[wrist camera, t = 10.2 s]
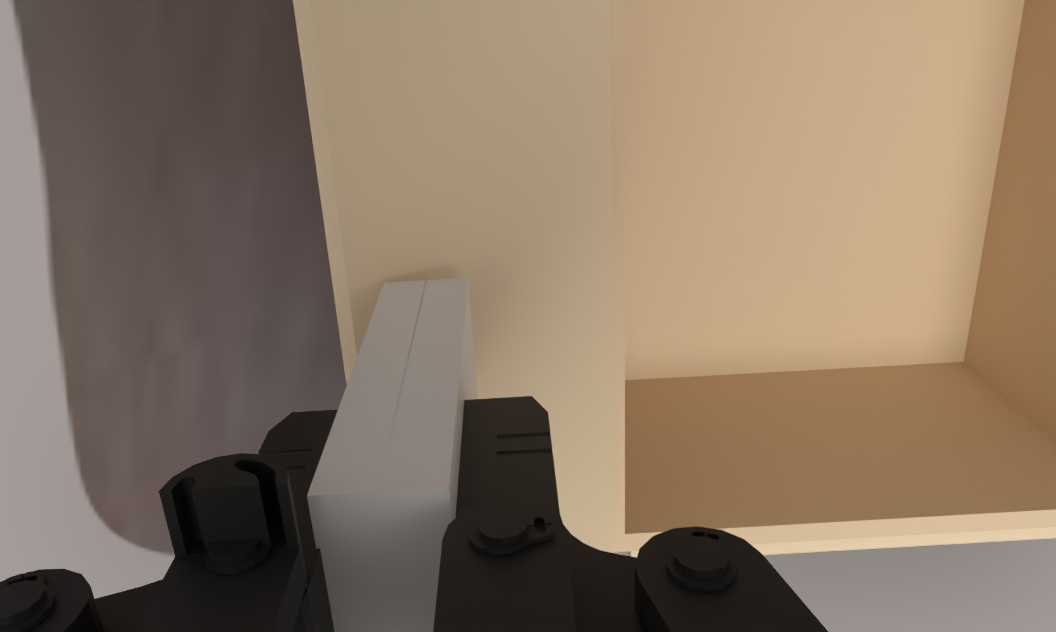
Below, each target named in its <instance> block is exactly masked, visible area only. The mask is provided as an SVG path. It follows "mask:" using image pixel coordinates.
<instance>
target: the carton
mask: <svg viewBox="0 0 1056 632" xmlns="http://www.w3.org/2000/svg"><path fill="white" fill-rule="evenodd" d="M611 83H612V267H613V451H614V545H613V546H612V547H610V548H609V549H607V550H606V552H610V553H611V552H629V556H631V557H637V555H638V552H639V549H640V548H641V547H642V546H643V545H644V544H645V543H646V542H647V541H648V540H649V539H651V538H652V537H653V536H655V535H657V534H660V533H662V532H665V531H668V530H670V529H673V528H683V527H694V526H699V527H706V528H712V529H719V530H723V531H726V532H728V533H730V534H733V535H735V536H738V537H740V538H743V539H745V540H746V541H747V542H748V543H749V544H751V545H752V546H753V547H754V548H756V549H757V550H758V551H759V552H761V553H762V555H771V554H788V553H804V552H822V551H840V550H857V549H874V548H890V547H891V548H892V547H908V546H926V545H944V544H961V543H977V542H994V541H1013V540H1029V539H1047V538H1056V0H611Z"/></svg>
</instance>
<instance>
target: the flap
mask: <svg viewBox="0 0 1056 632" xmlns="http://www.w3.org/2000/svg"><path fill="white" fill-rule="evenodd" d="M293 5H294V12H295V19H296V27H297V34H298V41H299V48H300V55H301V62H302V70H303V77H304V84H305V91H306V98H307V105H308V113H309V120H310V127H311V134H312V141H313V148H314V155H315V163H316V170H317V177H318V184H319V191H320V198H321V206H322V213H323V220H324V227H325V234H326V241H327V249H328V256H329V263H330V270H331V277H332V284H333V292H334V299H335V306H336V313H337V320H338V327H339V335H340V342H341V349H342V356H343V363H344V370H345V377H346V385H347V384H348V381H349V378H350V375H351V372H352V370H353V367H354V364H355V361H356V359H357V356H358V353H359V350H360V348H361V345H362V342H363V339H364V336H365V334H366V331H367V328H368V325H369V323H370V320H371V317H372V314H373V312H374V309H375V306H376V303H377V300H378V298H379V295H380V292H381V289H382V287H383V284H384V282H400V281H418V280H436V279H453V278H468V280H469V292H470V305H471V317H472V330H473V343H474V355H475V368H476V381H477V393H478V399H488V398H505V397H522V396H532V397H533V398H534V399H535V400H536V401H537V402H538V403H539V404H540V405H541V406H542V407H543V408H544V409H545V410H546V411H547V412H548V416H549V425H550V435H551V442H552V453H553V459H554V468H555V476H556V485H557V493H558V502H559V511H560V516H561V519H562V522H563V524H564V526H565V527H566V528H567V529H568V531H569V532H570V533H571V534H572V535H573V536H574V537H576V538H577V539H578V540H580V541H581V542H583V543H584V544H587V545H589V546H591V547H593V548H596V549H598V550H602V551H606V550H607V549H609V548H610V547H612V546H613V545H614V451H613V267H612V83H611V0H293Z"/></svg>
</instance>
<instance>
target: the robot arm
mask: <svg viewBox="0 0 1056 632" xmlns="http://www.w3.org/2000/svg"><path fill="white" fill-rule="evenodd" d="M159 493H160V497H161V501H162V505H163V509H164V513H165V517H166V521H167V525H168V529H169V533H170V537H171V541H172V545H173V549H174V553H175V558H174V560H173V562H172V564H171V566H170V567H169V569H168V571H167V573H166V575H165V577H164V578H163V579H162V580H159V581H156V582H154V583H151V584H148V585H145V586H142V587H138V588H134V589H130V590H127V591H123V592H119V593H116V594H112V595H108V596H104V597H101V598H97V599H94V597H93V593H92V590H91V587H90V585H89V583H88V582H87V581H86V580H85V578H84V577H83V576H82V574H79V573H76V572H72V571H69V570H66V569H46V570H37V571H33V572H27V573H25V574H19V575H16V576H13V577H10V578H8V579H6V580H4V581H2V582H0V632H828V631H827V630H826V629H825V627H824V626H823V625H822V624H821V623H820V622H819V620H818V619H817V618H816V617H815V616H814V615H813V613H812V612H811V611H810V610H809V609H808V608H807V606H806V605H805V604H804V603H803V602H802V600H801V599H800V598H799V597H798V596H797V595H796V593H795V592H794V591H793V590H792V589H791V588H790V586H789V585H788V584H787V583H786V582H785V580H784V579H783V578H782V577H781V576H780V575H779V573H778V572H777V571H776V570H775V569H774V568H773V567H772V565H771V564H770V563H769V562H768V560H767V559H766V558H765V557H764V556H763V555H762V553H761V552H759V551H758V550H757V549H756V548H754V547H753V546H752V545H751V544H749V543H748V542H747V541H746V540H745V539H743V538H740V537H738V536H735V535H733V534H730V533H728V532H726V531H723V530H719V529H712V528H706V527H699V526H694V527H683V528H673V529H670V530H668V531H665V532H662V533H660V534H657V535H655V536H653V537H652V538H651V539H649V540H648V541H647V542H646V543H645V544H644V545H643V546H642V547H641V548H640V549H639V552H638V555H637V557H631V556H624V555H618V554H614V553H610V552H606V551H602V550H598V549H596V548H593V547H591V546H589V545H587V544H584V543H583V542H581V541H580V540H578V539H577V538H576V537H574V536H573V535H572V534H571V533H570V532H569V531H568V529H567V528H566V527H565V526H564V524H563V522H562V519H561V516H560V511H559V502H558V493H557V485H556V476H555V468H554V459H553V453H552V442H551V435H550V425H549V416H548V412H547V411H546V410H545V409H544V408H543V407H542V406H541V405H540V404H539V403H538V402H537V401H536V400H535V399H534V398H533V397H532V396H522V397H505V398H488V399H478V393H477V381H476V368H475V355H474V343H473V330H472V317H471V305H470V292H469V280H468V278H453V279H436V280H418V281H400V282H384V284H383V287H382V289H381V292H380V295H379V298H378V300H377V303H376V306H375V309H374V312H373V314H372V317H371V320H370V323H369V325H368V328H367V331H366V334H365V336H364V339H363V342H362V345H361V348H360V350H359V353H358V356H357V359H356V361H355V364H354V367H353V370H352V372H351V375H350V378H349V381H348V384H347V386H346V389H345V392H344V395H343V397H342V400H341V403H340V406H339V408H338V410H326V411H309V412H292V413H291V414H290V415H288V416H287V417H286V418H285V419H283V420H282V421H281V422H280V423H278V424H277V425H276V426H275V427H274V428H272V429H271V430H270V431H269V432H268V434H267V436H266V438H265V440H264V442H263V444H262V446H261V448H260V450H259V454H242V453H241V454H234V455H228V456H221V457H216V458H213V459H210V460H207V461H204V462H201V463H199V464H196V465H193V466H191V467H189V468H188V469H186V470H184V471H182V472H181V473H179V474H177V475H176V476H174V477H172V478H171V479H170V480H169V481H168V482H167V483H166V484H165V485H164V486H163V488H162V489H161V490H160V491H159Z"/></svg>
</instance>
